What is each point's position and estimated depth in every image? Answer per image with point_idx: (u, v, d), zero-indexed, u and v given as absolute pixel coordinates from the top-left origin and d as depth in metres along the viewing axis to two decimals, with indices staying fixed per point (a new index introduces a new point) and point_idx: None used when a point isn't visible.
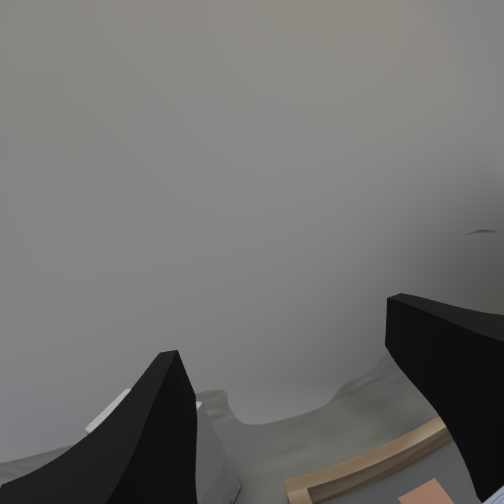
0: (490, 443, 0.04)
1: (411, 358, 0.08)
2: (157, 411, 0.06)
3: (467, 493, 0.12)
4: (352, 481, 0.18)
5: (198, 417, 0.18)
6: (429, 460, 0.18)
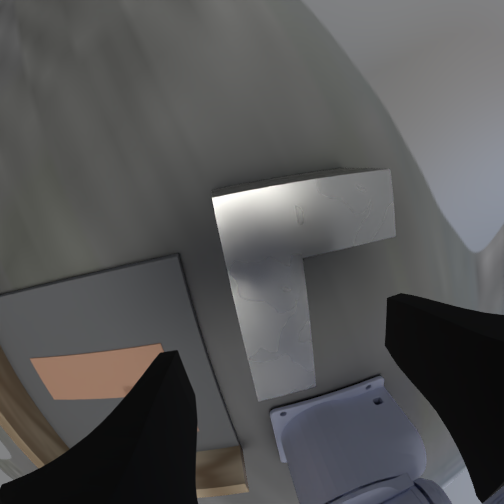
0: (490, 443, 0.04)
1: (411, 358, 0.08)
2: (157, 411, 0.06)
3: (57, 334, 0.16)
4: (43, 443, 0.15)
5: None
6: (8, 351, 0.15)
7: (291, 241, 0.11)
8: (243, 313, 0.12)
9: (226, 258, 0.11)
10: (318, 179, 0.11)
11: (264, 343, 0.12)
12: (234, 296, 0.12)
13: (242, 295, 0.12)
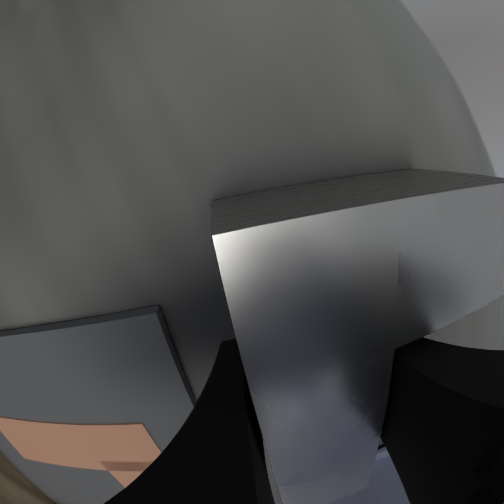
0: (428, 485, 0.04)
1: None
2: (245, 398, 0.06)
3: (11, 397, 0.09)
4: (20, 499, 0.09)
5: None
6: None
7: (381, 323, 0.05)
8: (276, 442, 0.06)
9: (247, 366, 0.05)
10: (439, 194, 0.04)
11: (306, 468, 0.06)
12: (261, 422, 0.05)
13: (276, 419, 0.05)
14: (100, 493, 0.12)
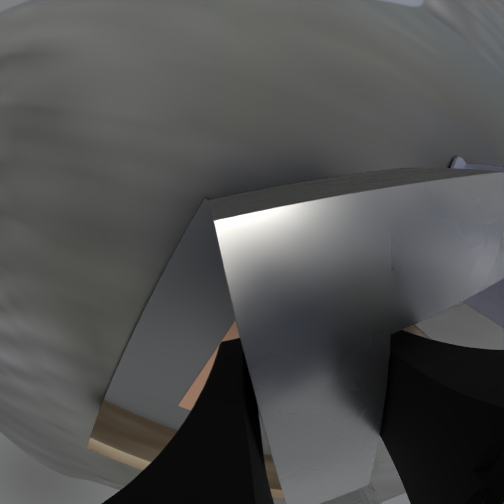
0: (428, 485, 0.04)
1: None
2: (244, 398, 0.06)
3: (178, 360, 0.17)
4: None
5: None
6: (157, 417, 0.19)
7: (377, 307, 0.05)
8: (277, 432, 0.06)
9: (248, 351, 0.05)
10: (427, 183, 0.05)
11: (308, 461, 0.06)
12: (262, 411, 0.05)
13: (277, 408, 0.05)
14: None
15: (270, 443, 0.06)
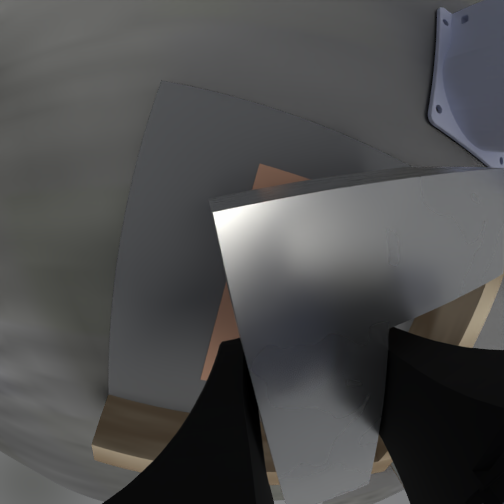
0: (428, 485, 0.04)
1: None
2: (244, 398, 0.06)
3: (182, 309, 0.13)
4: None
5: None
6: (181, 404, 0.15)
7: (374, 300, 0.05)
8: (276, 428, 0.06)
9: (246, 343, 0.05)
10: (423, 178, 0.05)
11: (307, 458, 0.06)
12: (260, 405, 0.05)
13: (275, 402, 0.06)
14: None
15: (268, 439, 0.06)
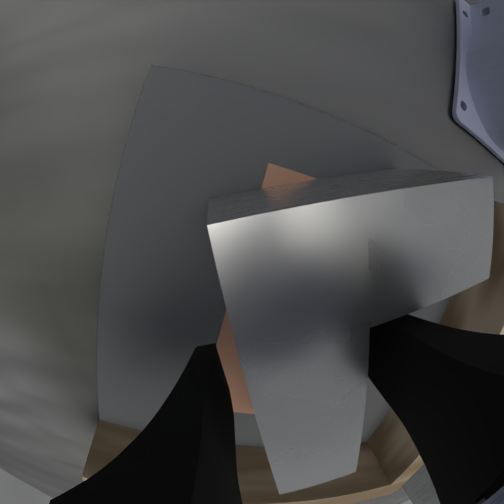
0: (456, 468, 0.04)
1: (380, 371, 0.08)
2: (208, 404, 0.06)
3: (177, 333, 0.11)
4: None
5: None
6: None
7: (355, 302, 0.06)
8: (265, 414, 0.06)
9: (237, 338, 0.06)
10: (406, 189, 0.05)
11: (295, 443, 0.07)
12: (251, 393, 0.06)
13: (264, 391, 0.06)
14: None
15: (259, 424, 0.07)
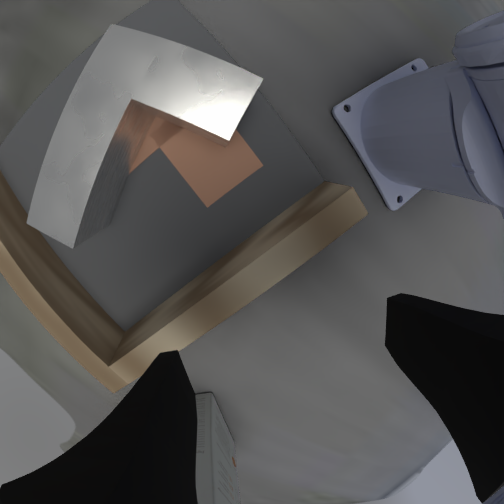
0: (490, 443, 0.04)
1: (411, 358, 0.08)
2: (157, 411, 0.06)
3: None
4: (71, 305, 0.15)
5: None
6: (22, 193, 0.15)
7: (133, 80, 0.10)
8: (63, 119, 0.10)
9: (85, 67, 0.09)
10: (188, 47, 0.10)
11: (59, 159, 0.10)
12: (68, 100, 0.10)
13: (73, 102, 0.10)
14: (161, 222, 0.17)
15: (57, 124, 0.10)
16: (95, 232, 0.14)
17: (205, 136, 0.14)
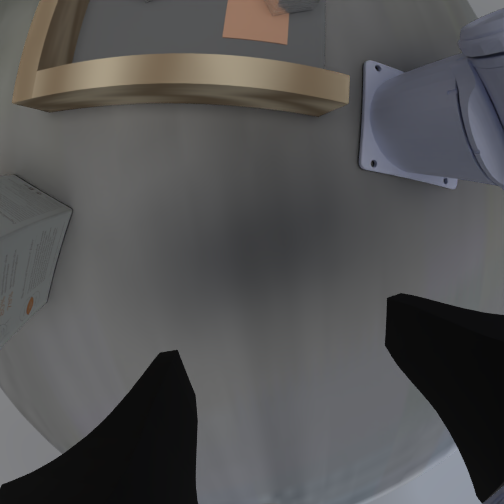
0: (490, 443, 0.04)
1: (411, 358, 0.08)
2: (157, 411, 0.06)
3: None
4: (65, 21, 0.10)
5: None
6: None
7: None
8: None
9: None
10: None
11: None
12: None
13: None
14: (181, 24, 0.14)
15: None
16: None
17: None
